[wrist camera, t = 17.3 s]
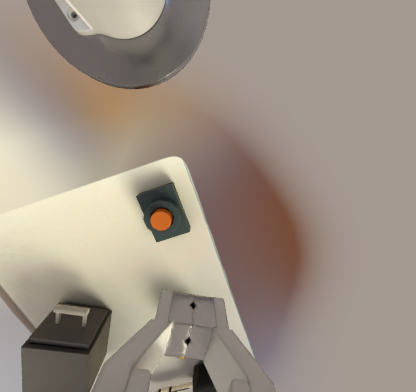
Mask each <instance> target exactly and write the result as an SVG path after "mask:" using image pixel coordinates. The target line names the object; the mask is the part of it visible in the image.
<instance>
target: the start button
mask: <svg viewBox="0 0 416 392" xmlns="http://www.w3.org/2000/svg"><path fill="white" fill-rule="evenodd" d="M150 222H151V225H152V226H153V228H155V229H156V230H160V231H162V230H166V229H167V228H169V226H170V225H171V222H172V214H171V212H170V211H169V210H167V209H164V208H160V209H157V210H156V211H155V212H154V213H153V215H152V216H151V219H150Z"/></svg>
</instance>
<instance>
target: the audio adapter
mask: <svg viewBox="0 0 416 392" xmlns="http://www.w3.org/2000/svg"><path fill="white" fill-rule="evenodd" d="M150 392H152V391H150ZM156 392H217V391H216V388H215V386H214V384H213V382H212V380H211V378H210V375H209V373H208V371H207V369H206V367H205V365H204V364H202V365H198V366H195V367H194V375H193V381H192V382H188V383H183V384H179V385H175V386H171V387H166V388H162V389H157V390H156Z"/></svg>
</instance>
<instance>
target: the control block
mask: <svg viewBox="0 0 416 392" xmlns="http://www.w3.org/2000/svg"><path fill="white" fill-rule="evenodd" d="M136 198H137V200H138V202H139V204H140V206H141V209H142V211H143V213H144V222H145V224H146V226H147V228H148V229H149V230H151V231H152V233H153V235H154V238H155V240H156V242H159V241H163V240H166V239H169V238H172V237H175V236H178V235H181V234H184V233H188V232H190V225H189V222H188V219H187V217H186V214H185V212H184V209H183V206H182V204H181V201H180V199H179V196H178V193H177V191H176V188H175V186H174V183H170V184H167V185H164V186H160V187H157V188H154V189H151V190H148V191H145V192H142V193H140V194H138V195H137V196H136ZM160 208H164V209H167V210H169V211H170V212H171V214H172V222H171V225H170V226H169V228H167V229H166V230H162V231H160V230H156V229H155V228H153V226H152V225H151V222H150V219H151V216H152V215H153V213H154V212H155V211H156V210H157V209H160Z"/></svg>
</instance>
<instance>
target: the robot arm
mask: <svg viewBox="0 0 416 392" xmlns="http://www.w3.org/2000/svg"><path fill="white" fill-rule="evenodd" d="M55 1H56V3H57V4H58V6H59V7H60V9H61V10H62V12H63V13H64V15H65V16H66V18H67V19H68V21H69V23H70V24H71V26H72V27H73V28H74V29H75V31H76V32H77V33H78V34H80V35H84V36H87V35H95V34H102V35H106V36H109V37H112V38H117V39H131V38H135V37H138V36H140V35H142V34H144V33H146V32H147V31H148V30H149V29H151V28H152V27H153V26H154V24H155V23H156V22H157V20H158V19H159V17H160V15H161V13H162V11H163V8H164V5H165V0H55ZM75 14H77V17H76V18H74V15H75ZM164 356H173V357H184V358H191V359H198V360H203V362H204V365H205V367H206V369H207V371H208V373H209V375H210V378H211V380H212V382H213V384H214V386H215V388H216V391H217V392H276V391H275V388H274V384H273V382H272V381H271V379H270V378H269V377H268V375H267V374H266V373H265V372H264V370H263V369H262V368H261V366H260V365H259V364H258V363H257V361H256V360H255V359H254V357H253V356H252V355H251V354H250V352H249V351H248V350H247V348H246V347H245V346H244V345H243V343H242V342H241V341H240V340H239V338H238V337H237V336H236V334H235V333H234V332H233V331H232V330H229V327H228V321H227V315H226V309H225V303H224V300H223V299H222V298H214V297H213V298H212V297H206V296H199V295H192V294H187V293H181V292H175V291H168V290H162V292H161V297H160V301H159V305H158V309H157V313H156V317H155V320H154V319H151V320H150V321H149V322H148V323H147V324H146V325H145V326H144V327H143V328H141V329H140V330H139V331H138V332H137V333H136V334H135V335H134V336H133V337H132V338H131V339H130V340H129V341H127V342H126V343H125V344H124V345H123V346H122V347H121V348H120V349H119V350H118V351H117V352H116V353H115V354H113V355H112V356H111V357H110V358H109V359H108V360H107V361H106V362H105V363H104V364H103V367H102V369H101V371H100V374H99V376H98V378H97V380H96V383H95V385H94V387H93V390H92V392H148V390H149V385H150V380H151V375H152V373H153V372H154V370H155V369H156V368H157V366H158V365H159V363H160V362H161V361H162V359H163V358H164Z"/></svg>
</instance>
